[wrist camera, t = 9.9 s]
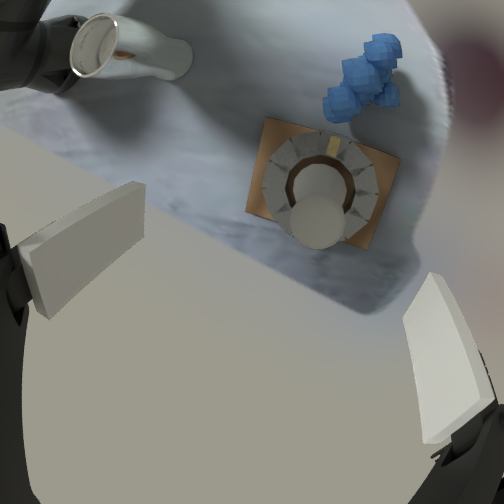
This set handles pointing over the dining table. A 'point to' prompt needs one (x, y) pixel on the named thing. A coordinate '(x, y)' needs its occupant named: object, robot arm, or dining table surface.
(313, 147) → the grey segmented ring
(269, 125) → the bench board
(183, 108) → the dining table surface
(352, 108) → the grapes
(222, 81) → the dining table surface
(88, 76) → the beer glass
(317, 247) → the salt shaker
